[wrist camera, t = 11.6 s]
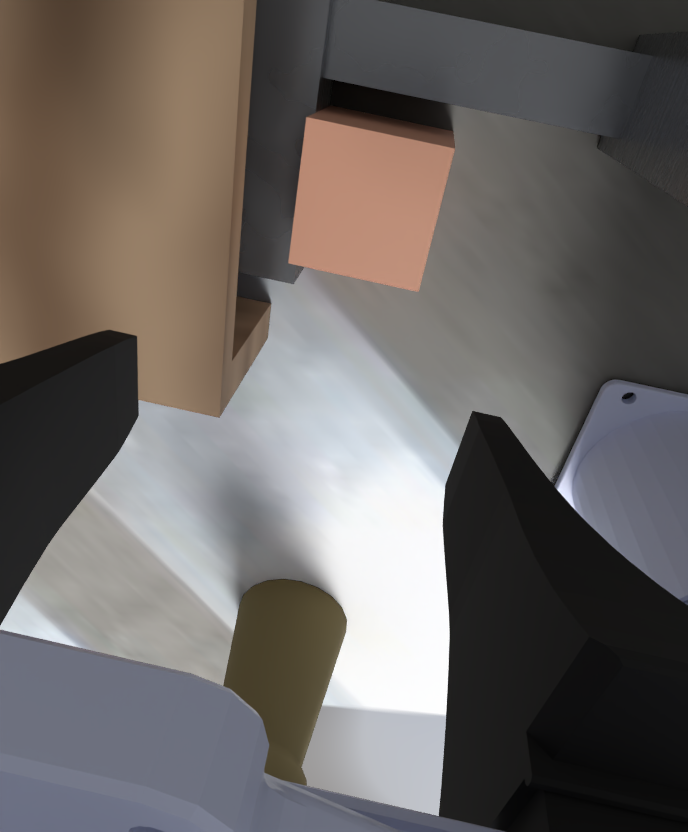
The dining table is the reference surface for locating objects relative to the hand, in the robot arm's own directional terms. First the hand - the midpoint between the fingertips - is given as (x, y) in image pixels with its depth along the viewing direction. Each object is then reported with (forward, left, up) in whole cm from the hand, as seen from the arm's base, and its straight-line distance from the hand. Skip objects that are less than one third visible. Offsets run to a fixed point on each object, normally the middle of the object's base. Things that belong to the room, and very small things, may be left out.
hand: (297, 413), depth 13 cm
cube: (0, -3, -11) cm, 11 cm away
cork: (0, +20, -11) cm, 23 cm away
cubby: (+7, -3, -10) cm, 13 cm away
